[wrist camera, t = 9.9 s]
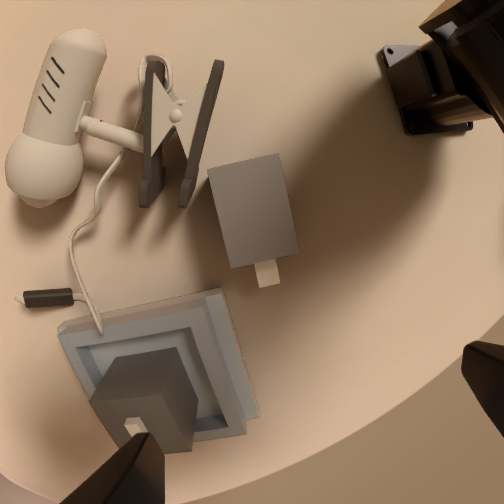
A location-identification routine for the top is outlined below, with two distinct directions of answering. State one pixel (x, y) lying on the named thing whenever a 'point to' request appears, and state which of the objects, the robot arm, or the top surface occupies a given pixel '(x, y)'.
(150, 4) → the top surface
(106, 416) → the brick
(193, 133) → the clip-on lamp
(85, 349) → the blue gray tray
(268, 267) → the cable plug
